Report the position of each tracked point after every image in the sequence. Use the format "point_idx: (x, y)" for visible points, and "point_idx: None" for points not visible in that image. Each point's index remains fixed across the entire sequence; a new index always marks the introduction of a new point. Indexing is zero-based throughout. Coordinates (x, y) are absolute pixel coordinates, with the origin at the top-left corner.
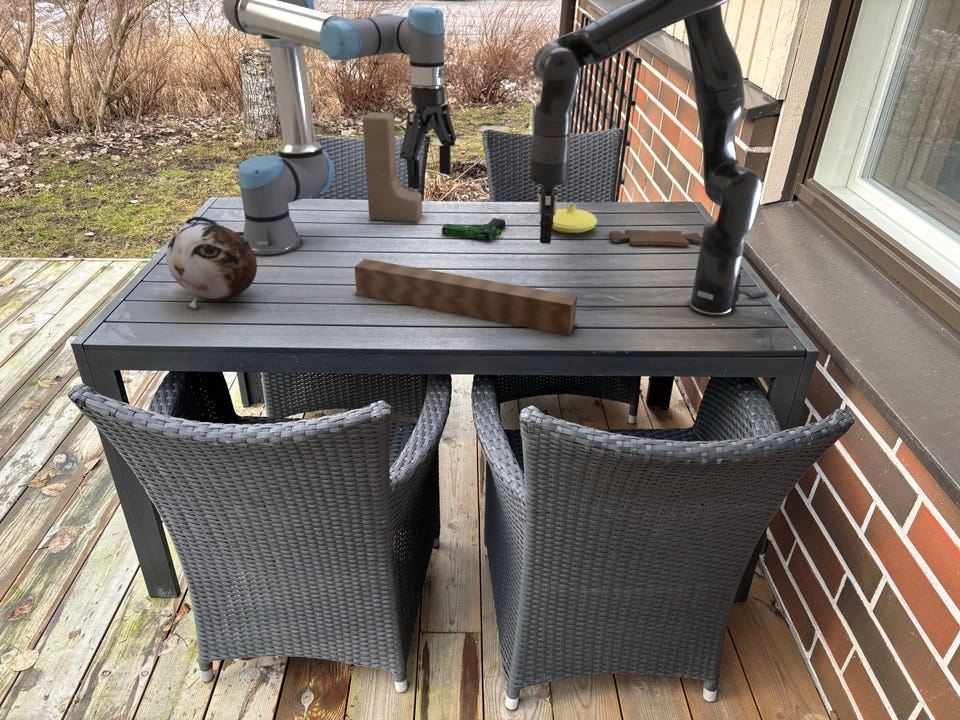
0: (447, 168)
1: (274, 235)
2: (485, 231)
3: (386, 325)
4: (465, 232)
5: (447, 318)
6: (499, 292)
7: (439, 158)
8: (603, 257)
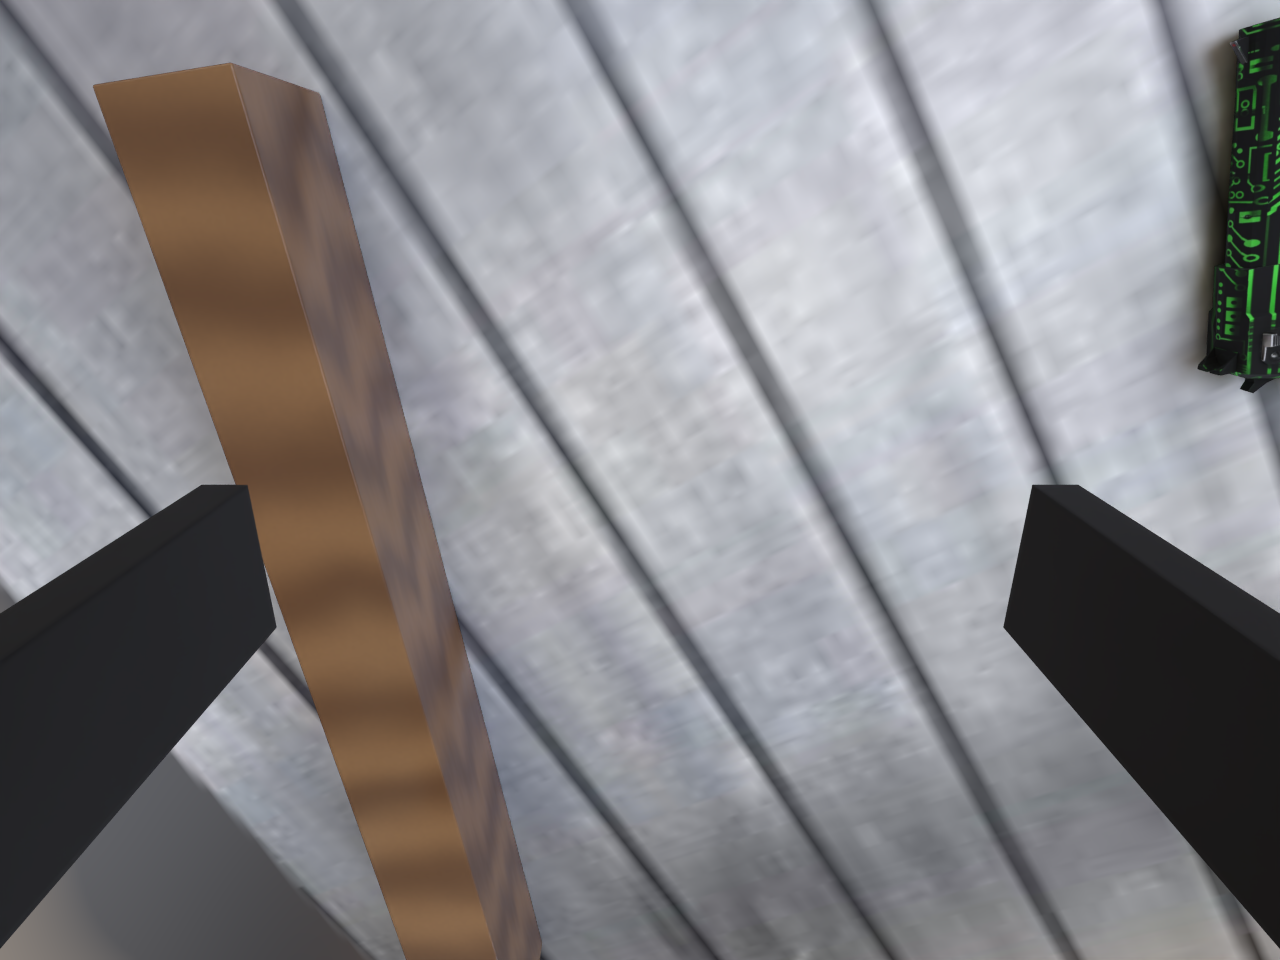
0: (1051, 652)
1: None
2: (1262, 340)
3: (94, 442)
4: (1246, 209)
5: None
6: (372, 864)
7: (1178, 596)
8: (1163, 848)
